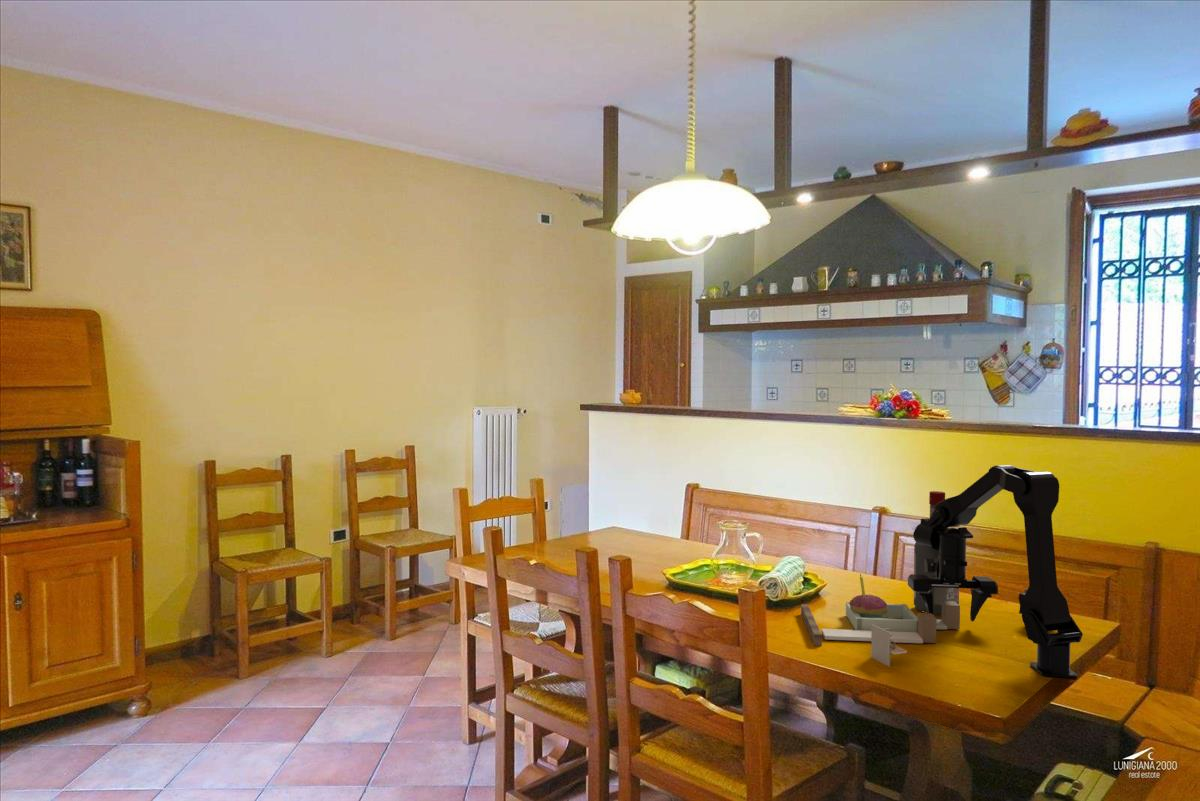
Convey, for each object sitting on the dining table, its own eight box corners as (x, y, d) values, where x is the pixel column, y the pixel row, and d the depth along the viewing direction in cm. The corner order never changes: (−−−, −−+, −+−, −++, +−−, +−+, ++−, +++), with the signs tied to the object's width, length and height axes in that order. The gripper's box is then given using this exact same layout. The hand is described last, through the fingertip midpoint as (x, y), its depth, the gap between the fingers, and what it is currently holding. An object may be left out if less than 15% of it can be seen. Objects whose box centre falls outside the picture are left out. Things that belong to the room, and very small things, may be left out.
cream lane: (937, 643, 171) (937, 619, 171) (824, 639, 174) (825, 615, 174) (930, 636, 176) (930, 612, 176) (821, 632, 179) (821, 608, 179)
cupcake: (845, 626, 184) (846, 576, 184) (854, 617, 191) (854, 568, 191) (883, 632, 180) (884, 581, 179) (890, 622, 187) (891, 573, 187)
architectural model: (884, 657, 165) (884, 622, 165) (906, 668, 159) (907, 632, 159) (870, 659, 164) (870, 624, 164) (893, 670, 158) (893, 634, 157)
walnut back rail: (821, 645, 171) (821, 635, 171) (814, 645, 171) (814, 634, 171) (807, 614, 194) (807, 604, 194) (800, 613, 194) (801, 604, 194)
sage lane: (966, 636, 176) (967, 612, 176) (856, 631, 179) (856, 608, 179) (948, 617, 190) (948, 595, 189) (845, 614, 193) (846, 592, 193)
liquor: (963, 611, 196) (964, 493, 195) (941, 617, 191) (942, 496, 190) (931, 603, 203) (932, 488, 202) (908, 608, 198) (910, 491, 198)
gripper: (982, 548, 189) (981, 611, 190) (902, 545, 192) (901, 608, 192) (999, 558, 178) (998, 626, 179) (914, 556, 181) (913, 622, 181)
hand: (951, 620), depth 183 cm, fingers open, 9 cm apart
